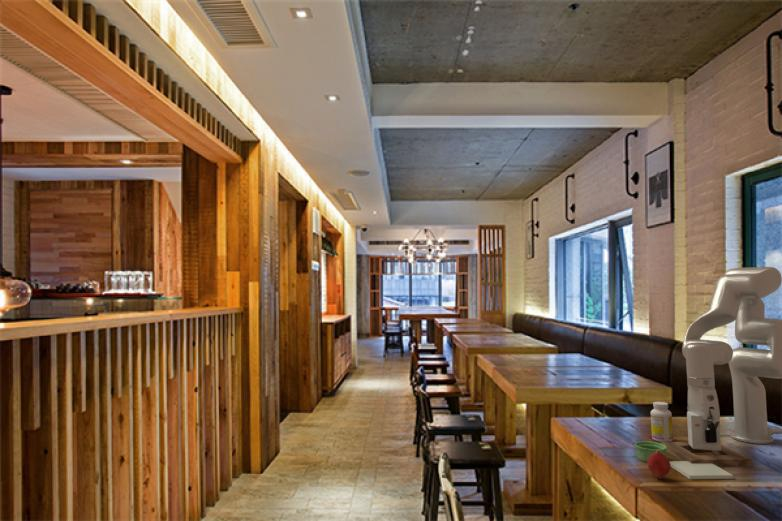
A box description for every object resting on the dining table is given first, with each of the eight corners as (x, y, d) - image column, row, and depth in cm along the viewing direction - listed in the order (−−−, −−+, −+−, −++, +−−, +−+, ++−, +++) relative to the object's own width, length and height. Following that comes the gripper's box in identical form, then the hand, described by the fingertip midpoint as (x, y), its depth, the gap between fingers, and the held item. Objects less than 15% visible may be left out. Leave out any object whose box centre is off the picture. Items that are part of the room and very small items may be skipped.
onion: (643, 475, 149) (642, 446, 149) (662, 474, 149) (661, 445, 150) (655, 482, 143) (654, 453, 143) (675, 481, 143) (674, 452, 144)
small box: (716, 445, 166) (714, 412, 166) (721, 451, 160) (719, 416, 161) (687, 443, 168) (686, 410, 168) (692, 449, 163) (690, 415, 163)
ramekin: (670, 465, 156) (669, 450, 157) (637, 462, 159) (636, 448, 159) (664, 456, 165) (663, 442, 165) (633, 454, 168) (632, 440, 168)
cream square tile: (707, 464, 157) (707, 460, 157) (733, 478, 145) (732, 475, 145) (667, 464, 157) (667, 461, 157) (689, 479, 145) (689, 475, 145)
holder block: (715, 447, 172) (715, 441, 173) (752, 466, 154) (751, 459, 155) (660, 448, 173) (660, 442, 173) (691, 466, 155) (691, 459, 155)
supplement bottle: (668, 437, 185) (666, 401, 185) (676, 443, 178) (674, 405, 179) (648, 437, 185) (647, 400, 186) (656, 442, 179) (654, 405, 179)
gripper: (730, 387, 156) (733, 447, 155) (696, 376, 174) (700, 430, 173) (705, 388, 156) (708, 448, 156) (674, 377, 174) (677, 431, 173)
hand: (704, 438), depth 164 cm, fingers closed on small box, 6 cm apart
